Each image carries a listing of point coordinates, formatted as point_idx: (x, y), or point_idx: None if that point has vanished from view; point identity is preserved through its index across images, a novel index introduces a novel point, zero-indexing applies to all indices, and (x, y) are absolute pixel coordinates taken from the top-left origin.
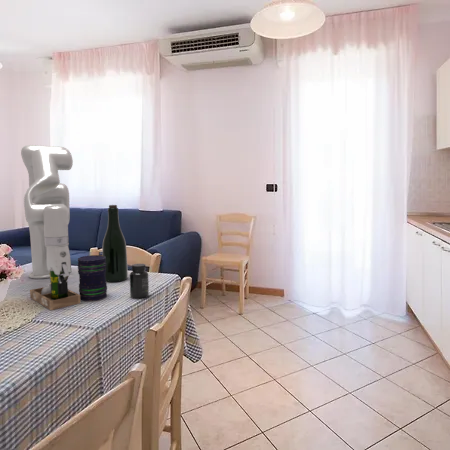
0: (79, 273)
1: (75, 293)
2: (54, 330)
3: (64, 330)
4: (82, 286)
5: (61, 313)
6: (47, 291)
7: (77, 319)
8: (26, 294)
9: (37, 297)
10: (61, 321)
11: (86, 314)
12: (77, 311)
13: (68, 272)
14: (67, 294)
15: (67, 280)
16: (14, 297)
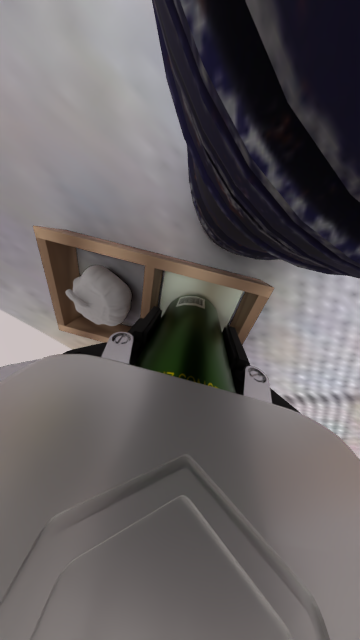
0: (300, 263)
1: (236, 284)
2: (325, 417)
3: (350, 414)
4: (279, 258)
5: (267, 360)
6: (118, 319)
7: (346, 373)
8: (40, 304)
9: None
10: (307, 389)
11: (356, 343)
12: (305, 336)
13: (260, 400)
14: (213, 308)
15: (267, 381)
16: (53, 332)
